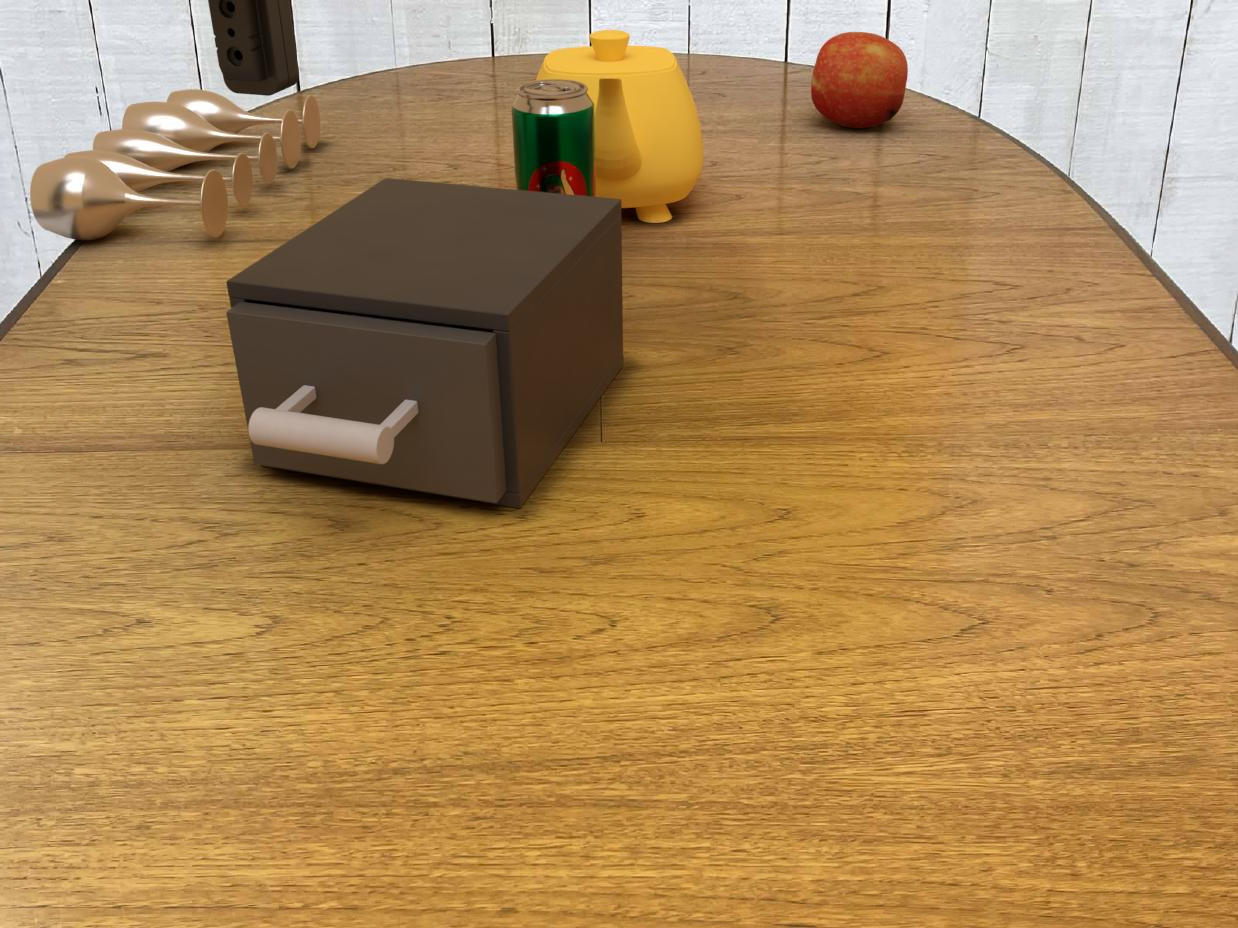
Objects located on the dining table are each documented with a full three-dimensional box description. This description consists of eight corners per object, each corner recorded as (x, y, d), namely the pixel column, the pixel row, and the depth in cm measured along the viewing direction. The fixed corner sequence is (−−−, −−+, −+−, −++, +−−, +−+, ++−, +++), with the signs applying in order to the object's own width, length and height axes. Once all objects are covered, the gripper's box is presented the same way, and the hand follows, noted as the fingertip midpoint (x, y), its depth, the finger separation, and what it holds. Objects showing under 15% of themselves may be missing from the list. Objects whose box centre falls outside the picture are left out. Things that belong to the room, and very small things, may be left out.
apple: (825, 110, 116) (832, 20, 112) (915, 120, 113) (925, 27, 109) (797, 132, 110) (803, 37, 106) (891, 142, 107) (900, 46, 103)
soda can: (548, 254, 85) (540, 73, 79) (612, 267, 83) (609, 82, 77) (505, 279, 81) (493, 91, 75) (570, 293, 79) (564, 101, 73)
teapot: (515, 258, 85) (505, 70, 78) (527, 168, 102) (519, 8, 96) (714, 254, 85) (719, 66, 78) (692, 165, 102) (695, 5, 96)
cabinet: (520, 509, 57) (508, 314, 52) (259, 466, 61) (225, 281, 56) (623, 365, 70) (621, 198, 65) (403, 337, 74) (385, 177, 69)
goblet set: (323, 148, 110) (176, 142, 111) (316, 81, 107) (166, 76, 108) (206, 257, 86) (19, 249, 87) (193, 174, 83) (0, 167, 84)
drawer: (457, 556, 52) (441, 389, 48) (201, 511, 56) (167, 351, 52) (600, 367, 68) (597, 228, 64) (392, 340, 71) (377, 207, 67)
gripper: (191, -481, 43) (269, 45, 51) (-113, -551, 32) (51, 131, 41) (391, -495, 41) (436, 55, 49) (140, -574, 30) (255, 149, 39)
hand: (262, 89), depth 45 cm, fingers closed
